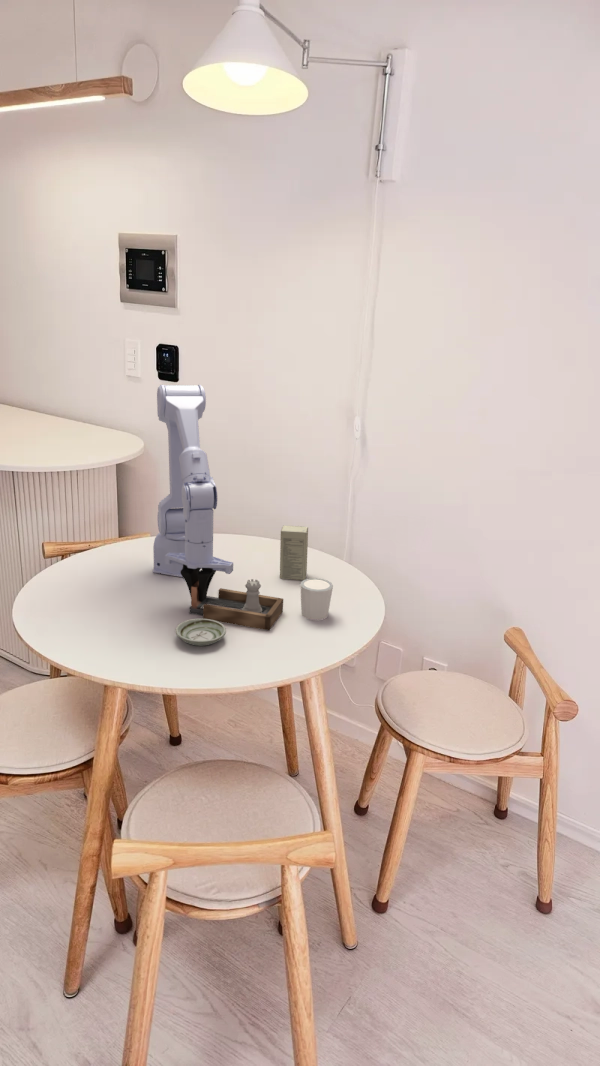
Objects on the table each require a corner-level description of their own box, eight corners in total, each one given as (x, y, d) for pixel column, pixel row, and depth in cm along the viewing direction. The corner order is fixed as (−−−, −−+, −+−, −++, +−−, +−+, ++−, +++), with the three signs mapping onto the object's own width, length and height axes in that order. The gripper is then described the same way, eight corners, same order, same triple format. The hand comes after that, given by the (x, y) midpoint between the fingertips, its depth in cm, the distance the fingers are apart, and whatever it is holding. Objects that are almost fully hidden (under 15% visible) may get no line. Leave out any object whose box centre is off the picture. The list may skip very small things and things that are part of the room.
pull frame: (189, 612, 145) (189, 588, 144) (202, 600, 152) (202, 576, 150) (261, 625, 142) (262, 600, 140) (271, 611, 148) (272, 587, 146)
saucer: (211, 657, 129) (211, 645, 129) (166, 645, 132) (165, 634, 132) (234, 635, 138) (234, 624, 137) (190, 624, 141) (190, 614, 140)
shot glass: (314, 604, 153) (316, 575, 151) (337, 615, 148) (339, 585, 146) (291, 613, 148) (293, 582, 146) (314, 624, 144) (317, 593, 141)
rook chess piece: (267, 617, 146) (268, 582, 143) (251, 623, 143) (252, 587, 140) (252, 610, 149) (253, 575, 146) (236, 616, 146) (237, 580, 143)
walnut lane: (203, 618, 143) (203, 605, 142) (220, 600, 152) (220, 588, 151) (269, 630, 140) (269, 617, 139) (282, 611, 149) (283, 598, 148)
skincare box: (306, 574, 169) (309, 526, 165) (305, 581, 165) (308, 532, 161) (280, 571, 169) (282, 524, 165) (278, 578, 165) (280, 530, 161)
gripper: (158, 540, 141) (158, 601, 146) (225, 550, 138) (223, 612, 142) (173, 529, 148) (173, 588, 152) (237, 539, 144) (235, 598, 149)
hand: (198, 599), depth 148 cm, fingers closed on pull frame
